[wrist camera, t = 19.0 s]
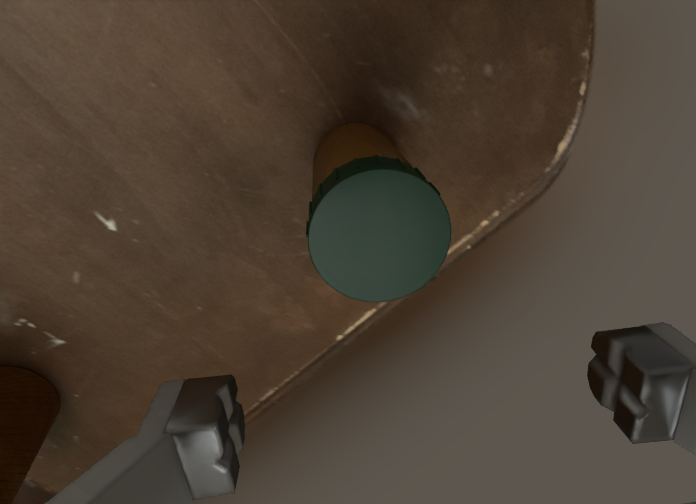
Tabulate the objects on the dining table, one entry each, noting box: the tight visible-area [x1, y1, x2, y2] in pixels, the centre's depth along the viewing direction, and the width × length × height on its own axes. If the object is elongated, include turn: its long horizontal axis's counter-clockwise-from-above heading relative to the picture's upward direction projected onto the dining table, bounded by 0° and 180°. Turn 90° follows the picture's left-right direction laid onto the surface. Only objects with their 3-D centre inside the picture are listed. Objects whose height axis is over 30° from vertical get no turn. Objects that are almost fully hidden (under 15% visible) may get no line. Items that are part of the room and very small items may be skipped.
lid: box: [306, 155, 451, 302], centre depth 20 cm, size 6×6×2 cm
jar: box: [312, 123, 411, 200], centre depth 24 cm, size 6×6×12 cm
